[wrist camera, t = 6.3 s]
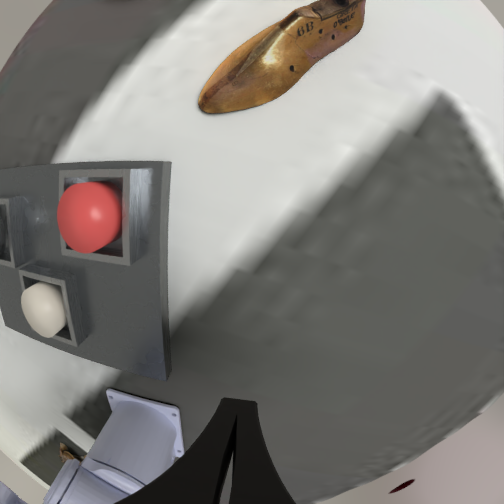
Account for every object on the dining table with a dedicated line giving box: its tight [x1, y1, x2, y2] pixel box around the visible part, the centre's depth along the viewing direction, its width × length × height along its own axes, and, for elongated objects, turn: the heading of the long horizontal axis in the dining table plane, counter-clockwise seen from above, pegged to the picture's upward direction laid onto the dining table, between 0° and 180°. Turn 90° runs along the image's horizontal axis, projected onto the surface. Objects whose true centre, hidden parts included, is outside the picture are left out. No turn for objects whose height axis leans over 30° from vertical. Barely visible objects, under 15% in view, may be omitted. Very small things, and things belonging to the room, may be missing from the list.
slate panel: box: [0, 161, 172, 381], centre depth 19 cm, size 17×21×3 cm
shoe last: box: [198, 0, 366, 113], centre depth 14 cm, size 4×14×5 cm, turn 126°
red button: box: [57, 181, 123, 253], centre depth 16 cm, size 4×4×2 cm
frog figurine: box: [58, 443, 86, 465], centre depth 30 cm, size 12×12×4 cm
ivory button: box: [21, 281, 68, 338], centre depth 19 cm, size 4×4×2 cm
